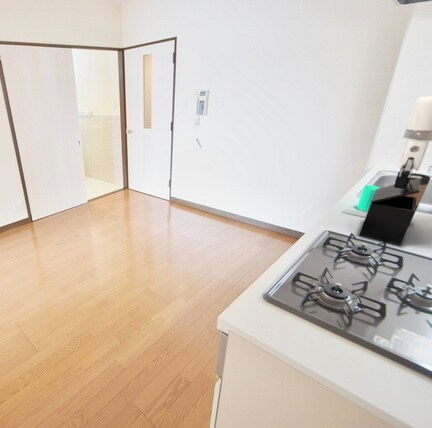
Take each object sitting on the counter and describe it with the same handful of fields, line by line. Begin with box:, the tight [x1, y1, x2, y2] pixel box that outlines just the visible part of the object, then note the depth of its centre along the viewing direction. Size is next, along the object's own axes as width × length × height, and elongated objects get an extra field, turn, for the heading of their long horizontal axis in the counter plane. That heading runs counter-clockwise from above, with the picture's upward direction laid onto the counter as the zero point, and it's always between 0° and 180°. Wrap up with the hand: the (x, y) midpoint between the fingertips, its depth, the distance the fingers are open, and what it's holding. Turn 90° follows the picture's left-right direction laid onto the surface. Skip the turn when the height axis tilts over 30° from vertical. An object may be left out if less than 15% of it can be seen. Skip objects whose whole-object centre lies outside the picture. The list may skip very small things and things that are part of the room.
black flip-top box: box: [358, 196, 417, 247], centre depth 107 cm, size 12×17×14 cm
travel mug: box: [406, 172, 431, 210], centre depth 113 cm, size 8×8×20 cm
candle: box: [356, 184, 380, 212], centre depth 127 cm, size 6×6×12 cm
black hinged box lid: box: [371, 178, 421, 203], centre depth 103 cm, size 12×17×5 cm
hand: (400, 185), depth 101 cm, fingers closed on black hinged box lid, 6 cm apart
